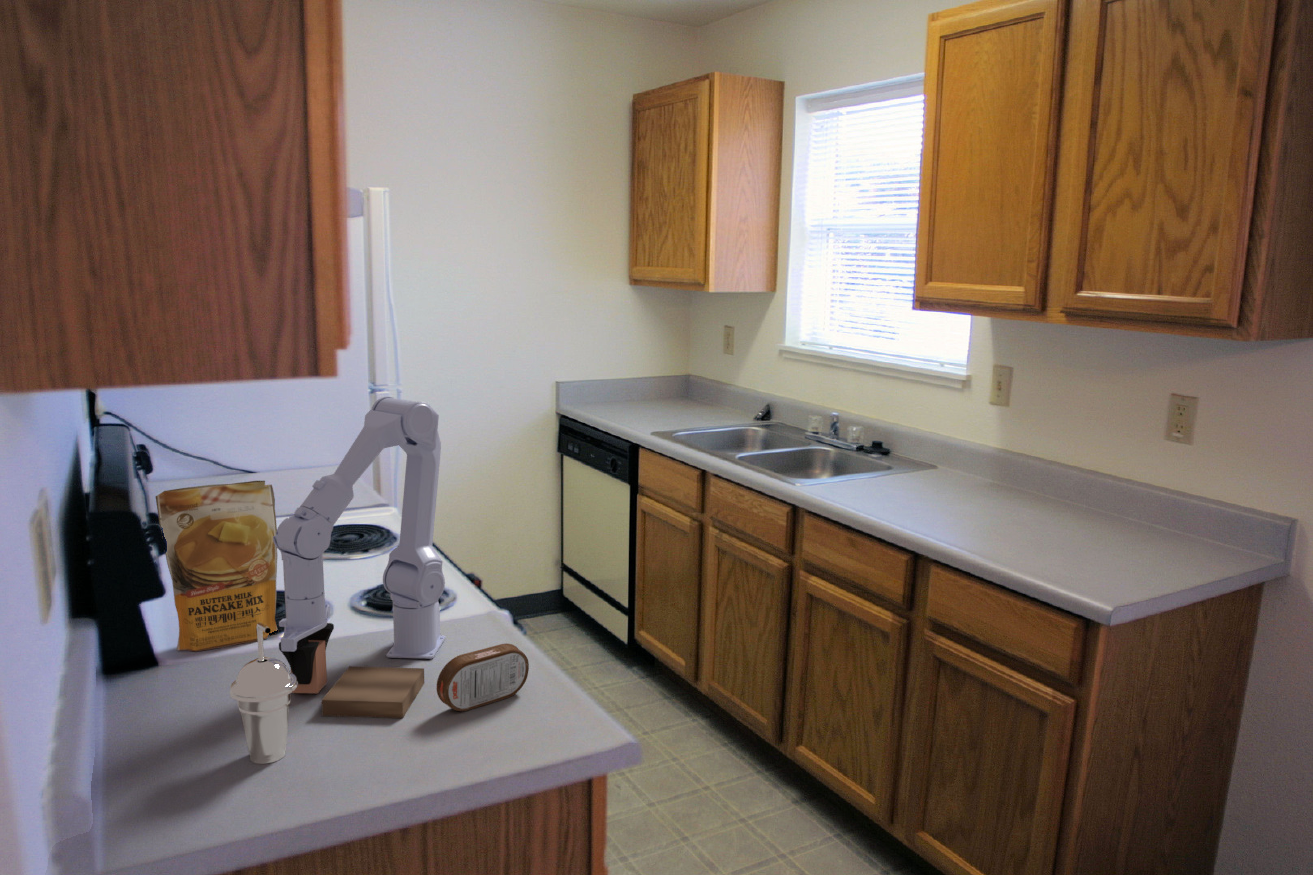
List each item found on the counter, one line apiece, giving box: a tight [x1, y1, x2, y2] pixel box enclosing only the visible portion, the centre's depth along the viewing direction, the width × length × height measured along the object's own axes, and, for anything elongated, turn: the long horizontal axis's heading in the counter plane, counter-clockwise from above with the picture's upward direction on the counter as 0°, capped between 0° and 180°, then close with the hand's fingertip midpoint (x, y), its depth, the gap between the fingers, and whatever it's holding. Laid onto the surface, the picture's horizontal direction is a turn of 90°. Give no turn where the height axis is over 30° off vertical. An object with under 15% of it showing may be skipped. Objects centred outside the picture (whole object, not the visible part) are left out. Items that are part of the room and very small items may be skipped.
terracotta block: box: [290, 640, 328, 694], centre depth 148 cm, size 4×4×7 cm
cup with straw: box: [229, 622, 298, 765], centre depth 127 cm, size 8×9×20 cm
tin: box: [435, 642, 530, 712], centre depth 145 cm, size 15×3×8 cm, turn 130°
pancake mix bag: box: [155, 480, 279, 652], centre depth 165 cm, size 7×19×28 cm, turn 122°
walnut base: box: [321, 665, 425, 719], centre depth 146 cm, size 12×12×2 cm
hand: (309, 676), depth 148 cm, fingers closed on terracotta block, 4 cm apart
